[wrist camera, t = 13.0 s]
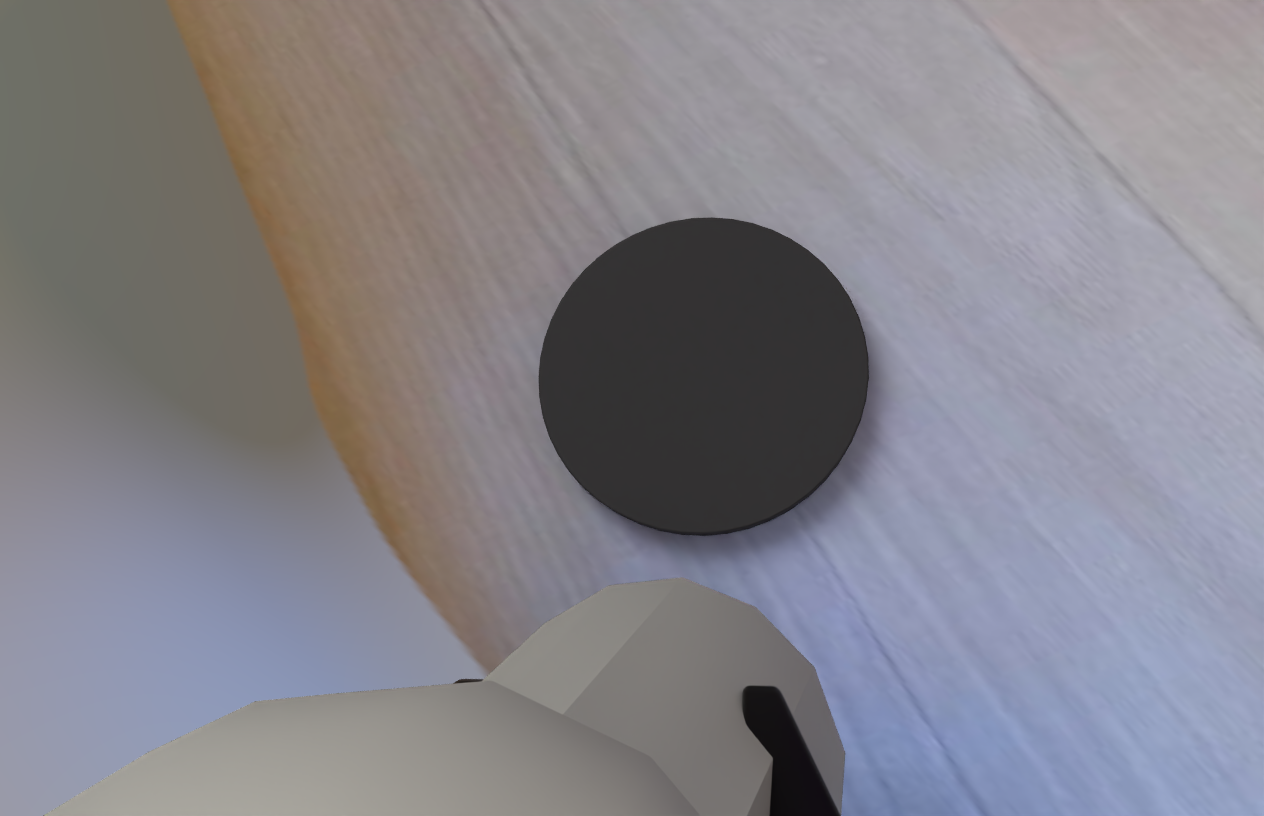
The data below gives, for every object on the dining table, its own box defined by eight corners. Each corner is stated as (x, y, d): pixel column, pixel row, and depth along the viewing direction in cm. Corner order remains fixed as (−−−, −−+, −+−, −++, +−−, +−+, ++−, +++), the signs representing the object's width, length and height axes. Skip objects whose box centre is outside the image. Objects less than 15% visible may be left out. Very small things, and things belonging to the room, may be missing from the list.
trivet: (739, 605, 21) (738, 606, 20) (485, 414, 24) (476, 408, 23) (931, 330, 22) (937, 320, 21) (665, 178, 25) (662, 165, 24)
